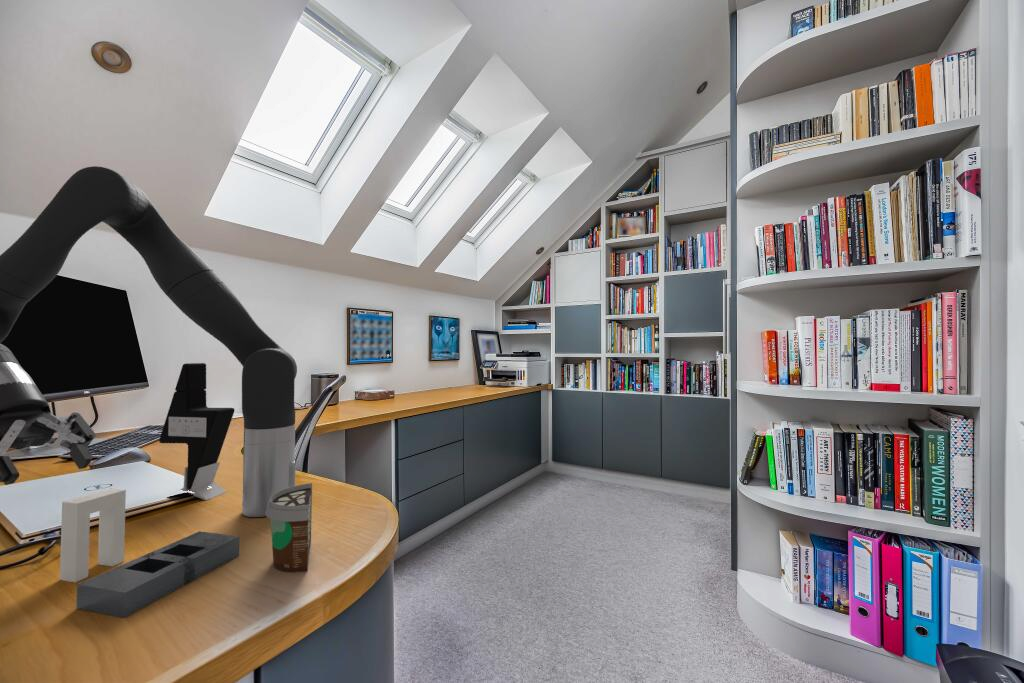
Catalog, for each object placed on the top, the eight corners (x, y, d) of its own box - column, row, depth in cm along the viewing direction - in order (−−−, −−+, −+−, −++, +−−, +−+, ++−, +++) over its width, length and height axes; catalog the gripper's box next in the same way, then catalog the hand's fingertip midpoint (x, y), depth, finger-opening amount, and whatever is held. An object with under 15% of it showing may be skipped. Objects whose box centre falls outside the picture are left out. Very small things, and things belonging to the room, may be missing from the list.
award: (155, 496, 93) (159, 363, 94) (178, 489, 98) (181, 362, 99) (214, 500, 90) (217, 363, 91) (234, 492, 96) (236, 363, 96)
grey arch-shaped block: (109, 559, 65) (111, 488, 65) (123, 561, 64) (125, 489, 64) (59, 579, 59) (62, 501, 59) (75, 582, 58) (77, 503, 58)
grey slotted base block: (198, 549, 68) (199, 531, 68) (238, 555, 66) (239, 536, 66) (76, 608, 52) (77, 584, 52) (124, 617, 50) (124, 592, 50)
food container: (270, 547, 69) (271, 486, 69) (311, 540, 71) (312, 481, 71) (257, 585, 57) (259, 512, 58) (307, 575, 60) (308, 506, 60)
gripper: (-54, 383, 59) (-2, 468, 56) (72, 377, 73) (118, 446, 70) (-79, 419, 61) (-30, 504, 58) (49, 407, 74) (94, 475, 71)
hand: (52, 472), depth 64 cm, fingers open, 8 cm apart
